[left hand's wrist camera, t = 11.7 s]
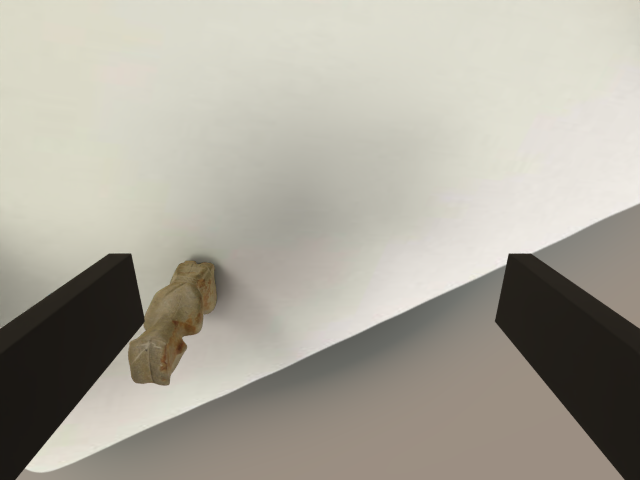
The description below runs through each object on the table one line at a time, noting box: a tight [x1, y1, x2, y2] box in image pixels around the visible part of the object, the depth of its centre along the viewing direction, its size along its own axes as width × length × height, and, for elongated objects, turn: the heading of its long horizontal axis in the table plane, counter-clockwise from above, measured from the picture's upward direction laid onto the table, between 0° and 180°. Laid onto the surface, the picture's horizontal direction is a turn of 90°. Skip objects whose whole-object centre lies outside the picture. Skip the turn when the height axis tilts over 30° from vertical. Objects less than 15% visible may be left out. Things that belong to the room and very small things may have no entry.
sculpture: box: [128, 261, 217, 385], centre depth 37 cm, size 6×7×15 cm
